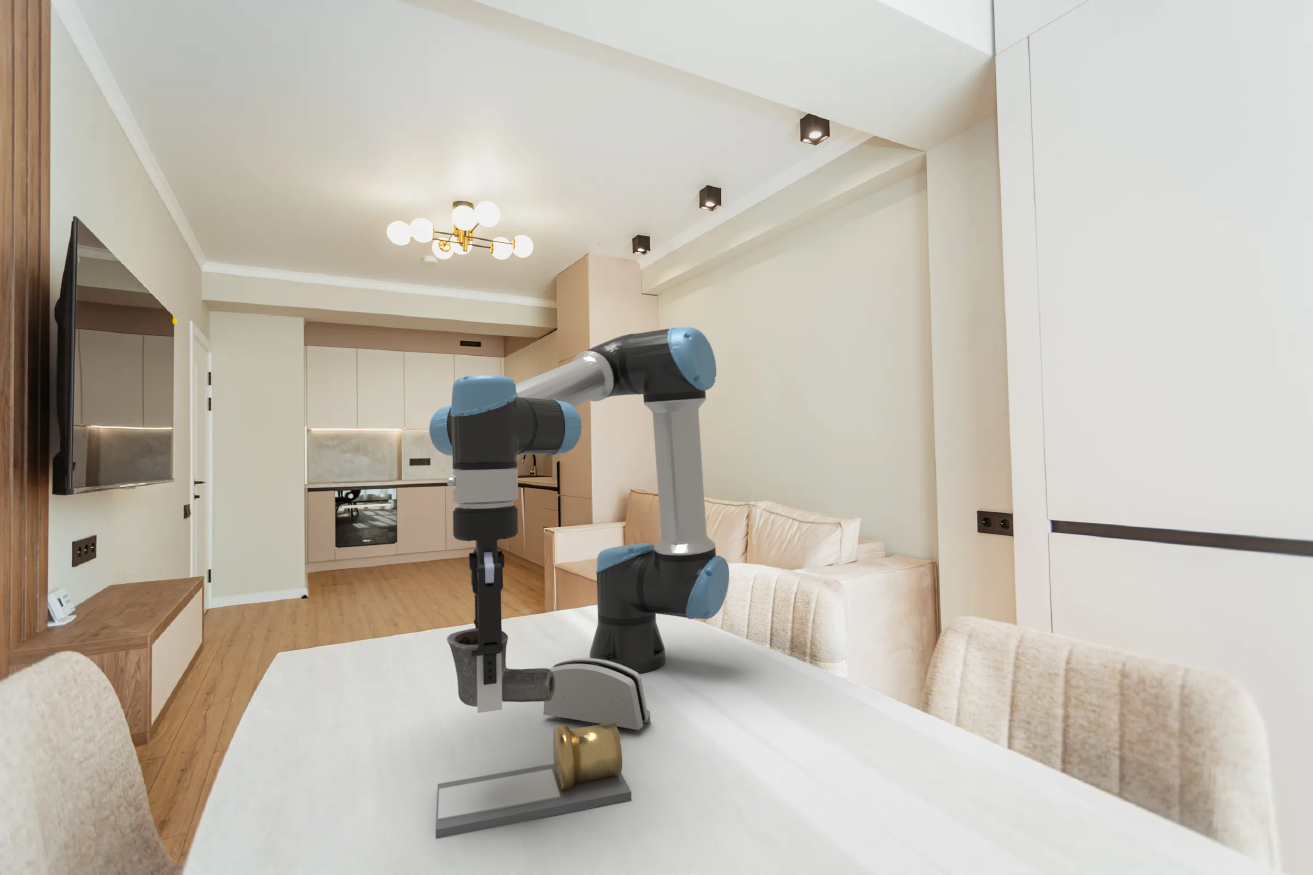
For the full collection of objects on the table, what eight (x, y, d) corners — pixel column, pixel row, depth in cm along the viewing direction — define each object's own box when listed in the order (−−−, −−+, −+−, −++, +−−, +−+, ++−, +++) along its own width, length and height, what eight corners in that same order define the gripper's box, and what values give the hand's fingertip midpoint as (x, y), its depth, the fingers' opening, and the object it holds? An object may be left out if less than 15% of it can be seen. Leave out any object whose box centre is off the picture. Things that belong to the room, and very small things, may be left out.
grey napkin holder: (653, 723, 96) (648, 660, 95) (640, 739, 91) (636, 674, 91) (558, 708, 102) (553, 649, 101) (542, 723, 98) (537, 661, 97)
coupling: (610, 763, 83) (608, 708, 83) (624, 791, 76) (622, 731, 76) (553, 773, 80) (552, 716, 81) (563, 803, 74) (562, 741, 74)
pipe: (545, 717, 71) (544, 649, 71) (438, 711, 73) (435, 645, 72) (559, 690, 77) (558, 628, 77) (460, 685, 79) (457, 624, 78)
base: (611, 760, 84) (611, 751, 84) (631, 799, 75) (631, 789, 75) (437, 791, 77) (437, 782, 77) (435, 838, 68) (435, 827, 68)
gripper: (452, 500, 83) (455, 676, 82) (452, 513, 65) (455, 738, 65) (510, 498, 85) (513, 669, 85) (526, 509, 67) (529, 726, 67)
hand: (488, 698), depth 75 cm, fingers closed on pipe, 6 cm apart
